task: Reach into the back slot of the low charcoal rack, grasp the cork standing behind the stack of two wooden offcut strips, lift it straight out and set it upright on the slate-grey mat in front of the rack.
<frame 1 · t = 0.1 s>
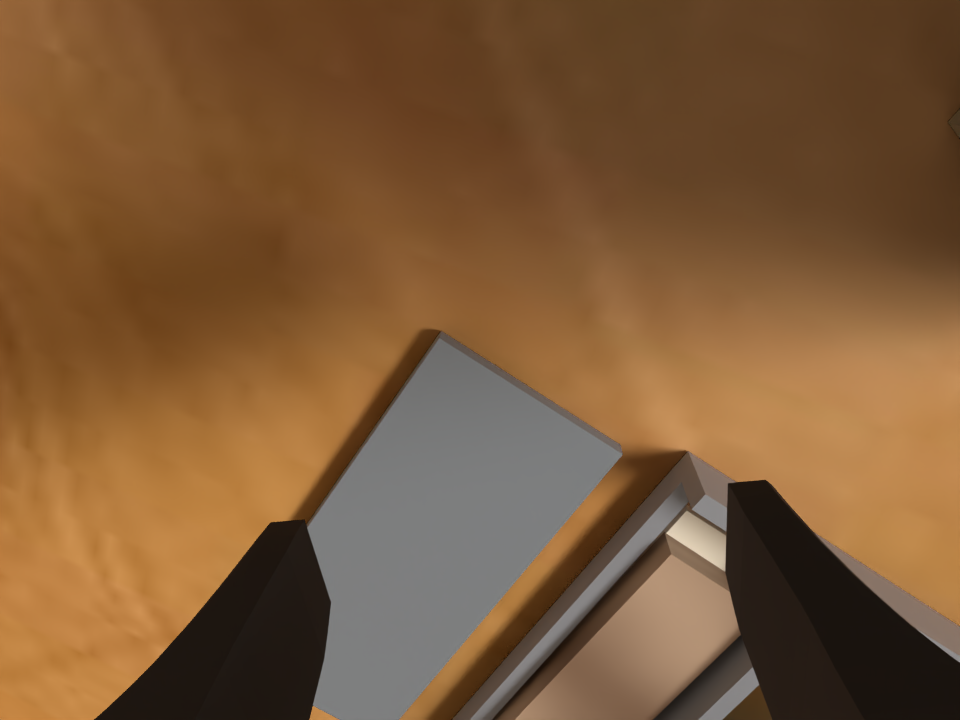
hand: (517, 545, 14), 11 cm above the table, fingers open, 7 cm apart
top offcut: (592, 680, 28), resting on bottom offcut
bottom offcut: (602, 648, 29), on the table, touching top offcut
rack: (696, 715, 29), on the table
slate mat: (409, 550, 27), on the table
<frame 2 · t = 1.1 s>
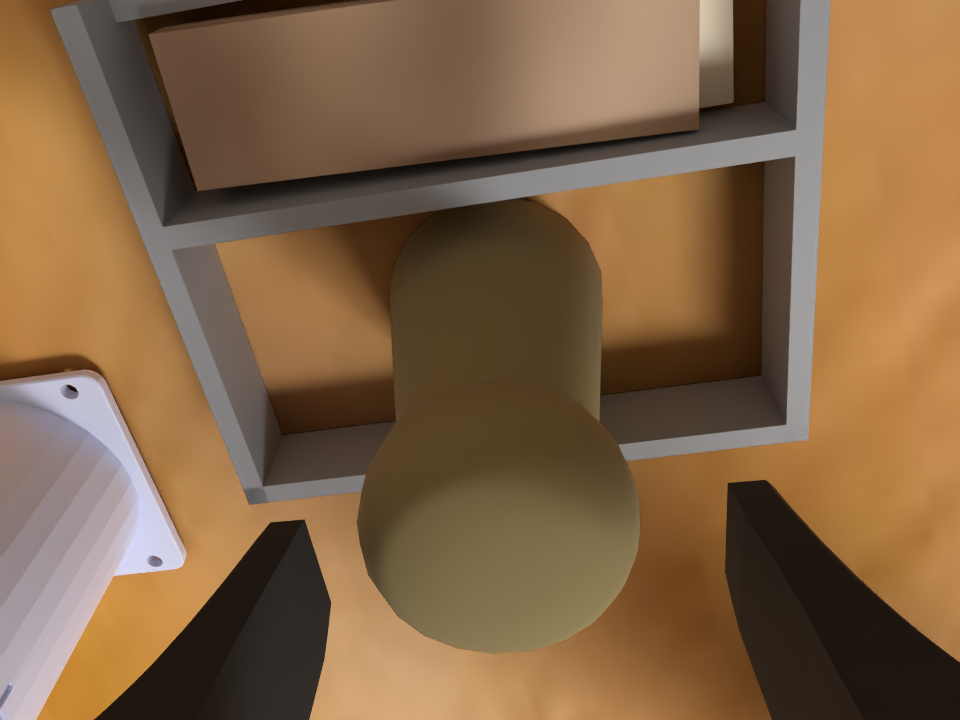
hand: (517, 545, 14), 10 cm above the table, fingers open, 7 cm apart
cork: (496, 294, 23), on the table
top offcut: (433, 71, 20), point 1 cm above the table, touching bottom offcut
bottom offcut: (457, 60, 21), on the table, touching top offcut
rack: (481, 215, 22), on the table
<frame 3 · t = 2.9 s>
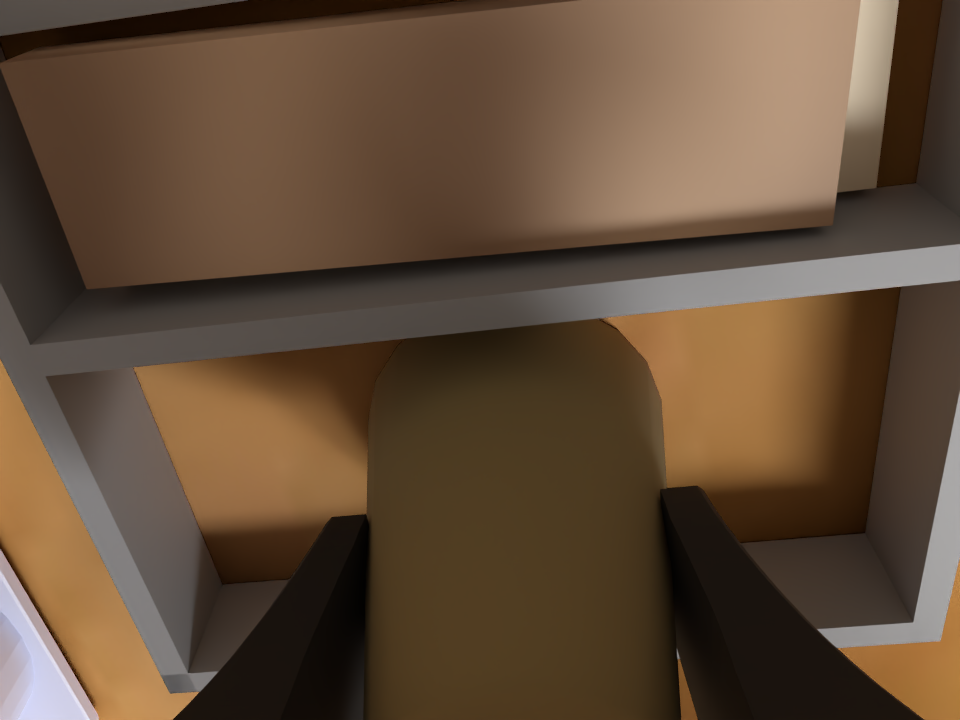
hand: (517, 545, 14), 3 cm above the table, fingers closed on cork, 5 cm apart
cork: (514, 422, 17), on the table, touching gripper
top offcut: (437, 125, 13), point 1 cm above the table, touching bottom offcut
bottom offcut: (474, 110, 14), on the table, touching top offcut
rack: (500, 322, 16), on the table
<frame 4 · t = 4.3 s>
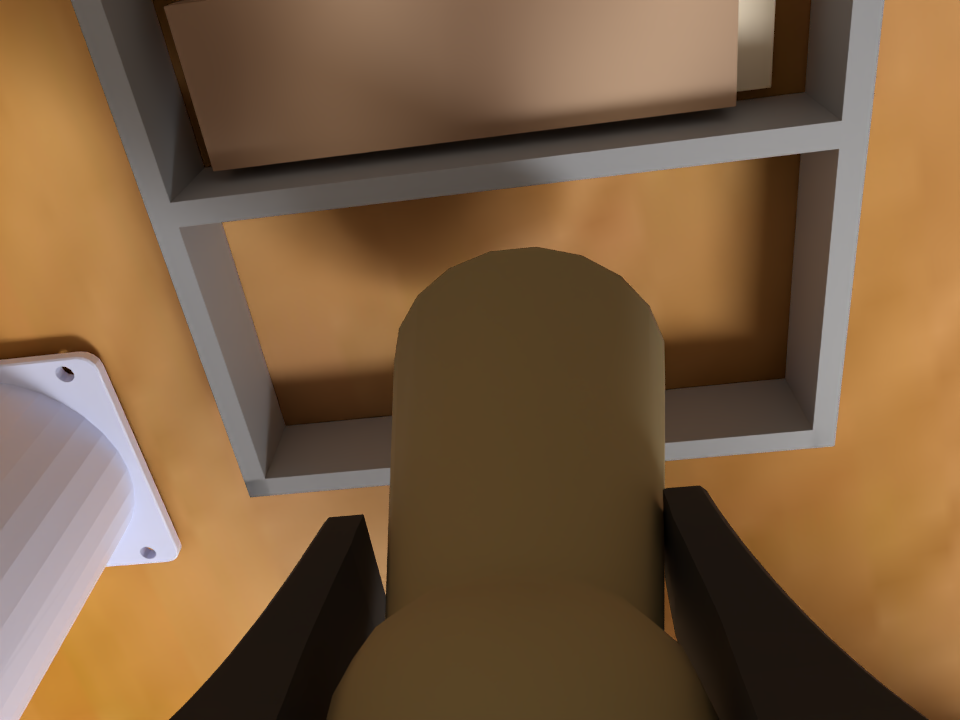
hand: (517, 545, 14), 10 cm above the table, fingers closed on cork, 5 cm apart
cork: (528, 365, 19), point 4 cm above the table, touching gripper
top offcut: (458, 47, 19), resting on bottom offcut
bottom offcut: (484, 33, 20), on the table, touching top offcut
rack: (503, 202, 21), on the table
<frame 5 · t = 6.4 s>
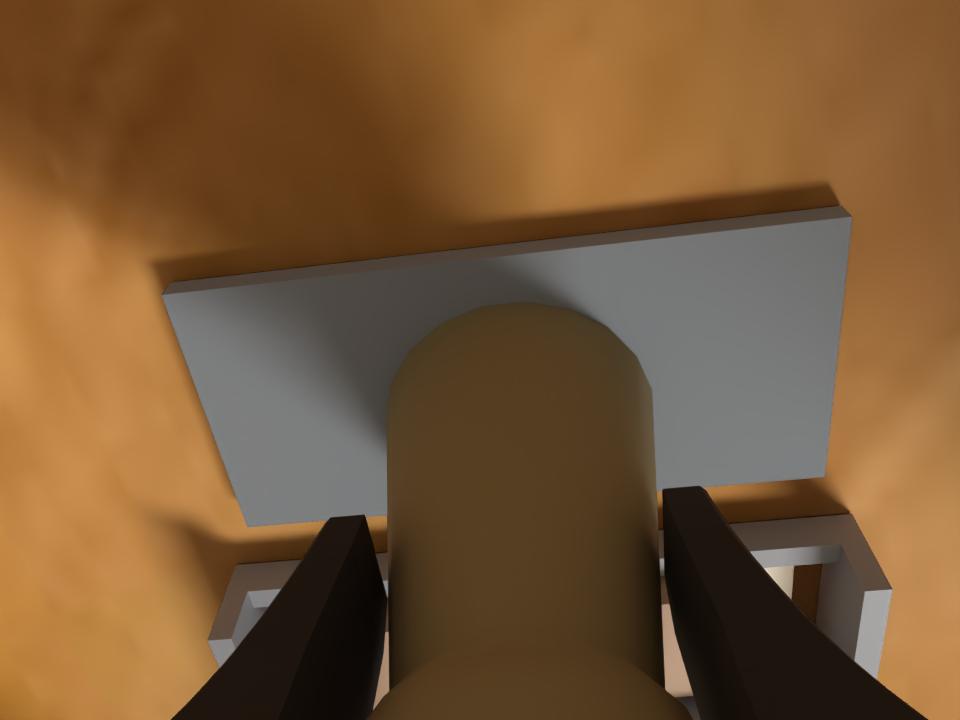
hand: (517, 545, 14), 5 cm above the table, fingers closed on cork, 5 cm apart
cork: (519, 415, 19), resting on slate mat, touching gripper
top offcut: (521, 629, 22), resting on bottom offcut
bottom offcut: (543, 594, 23), on the table, touching top offcut
rack: (556, 707, 25), on the table
slate mat: (511, 376, 19), on the table
when the fingers open (5 cm above the table, at t = 7.1 s): cork stays where it is, resting on slate mat.
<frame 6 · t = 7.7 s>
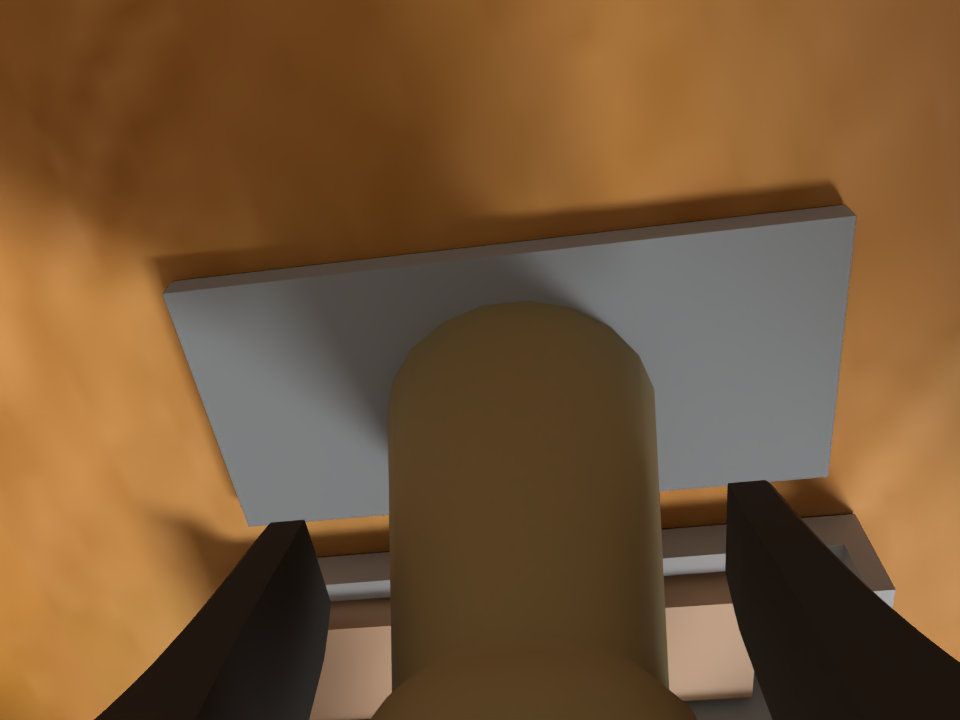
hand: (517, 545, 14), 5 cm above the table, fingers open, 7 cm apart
cork: (521, 414, 19), resting on slate mat
top offcut: (518, 628, 22), resting on bottom offcut
rack: (557, 707, 25), on the table
slate mat: (514, 376, 19), on the table
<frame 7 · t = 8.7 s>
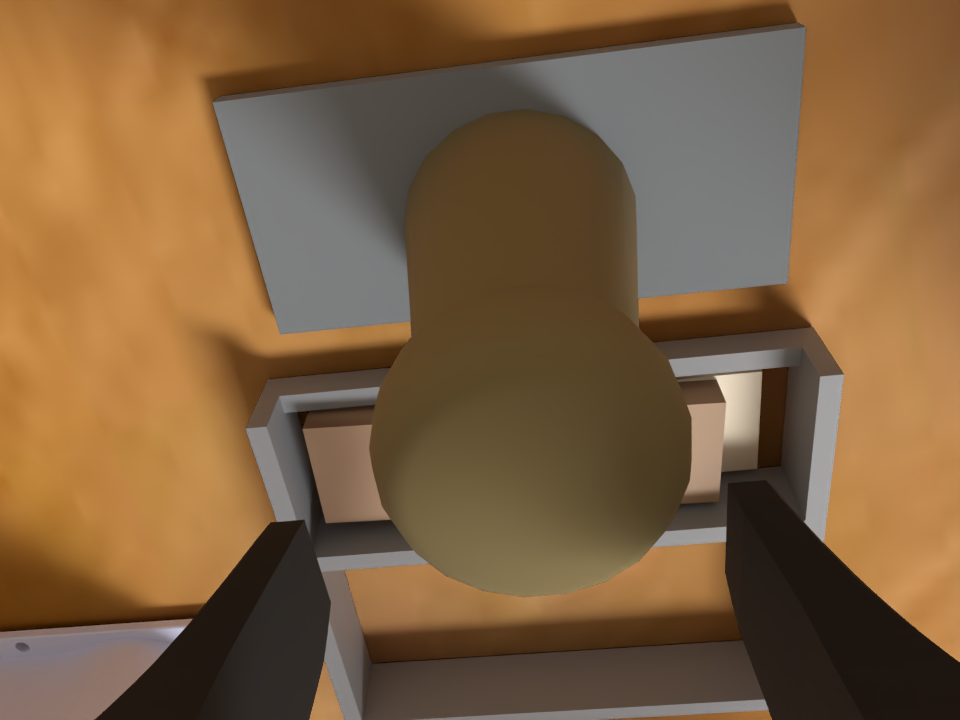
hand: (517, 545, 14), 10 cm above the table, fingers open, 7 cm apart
cork: (520, 223, 22), resting on slate mat
top offcut: (514, 441, 25), resting on bottom offcut
bottom offcut: (541, 418, 26), on the table
rack: (551, 527, 28), on the table
slate mat: (514, 189, 21), on the table
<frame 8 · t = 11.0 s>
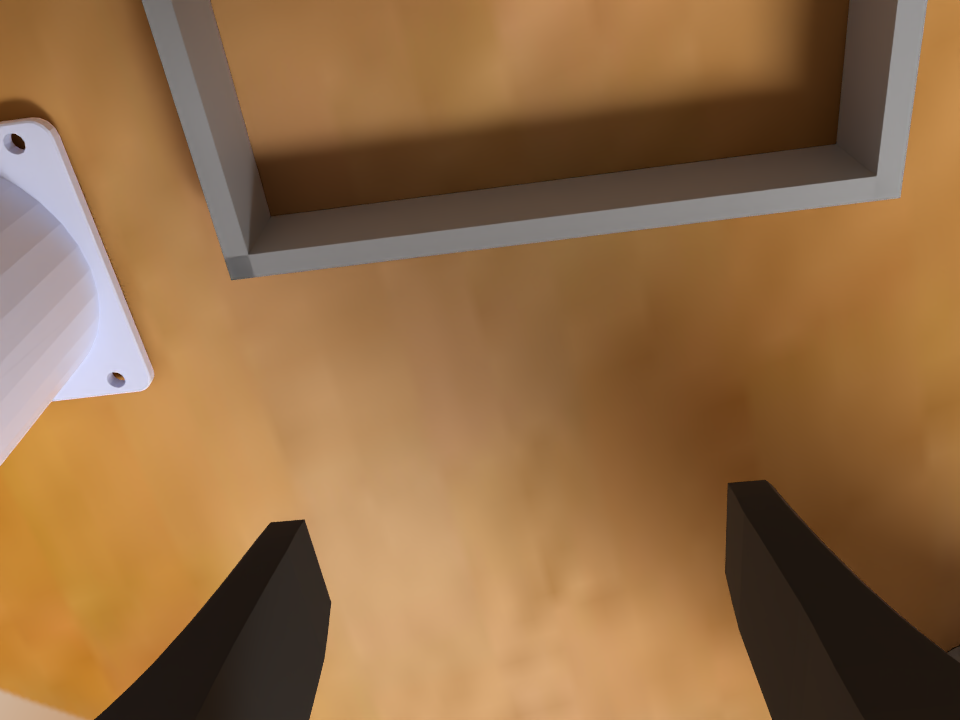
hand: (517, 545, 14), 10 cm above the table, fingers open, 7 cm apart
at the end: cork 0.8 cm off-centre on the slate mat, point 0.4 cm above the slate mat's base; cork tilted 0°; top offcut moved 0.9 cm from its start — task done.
